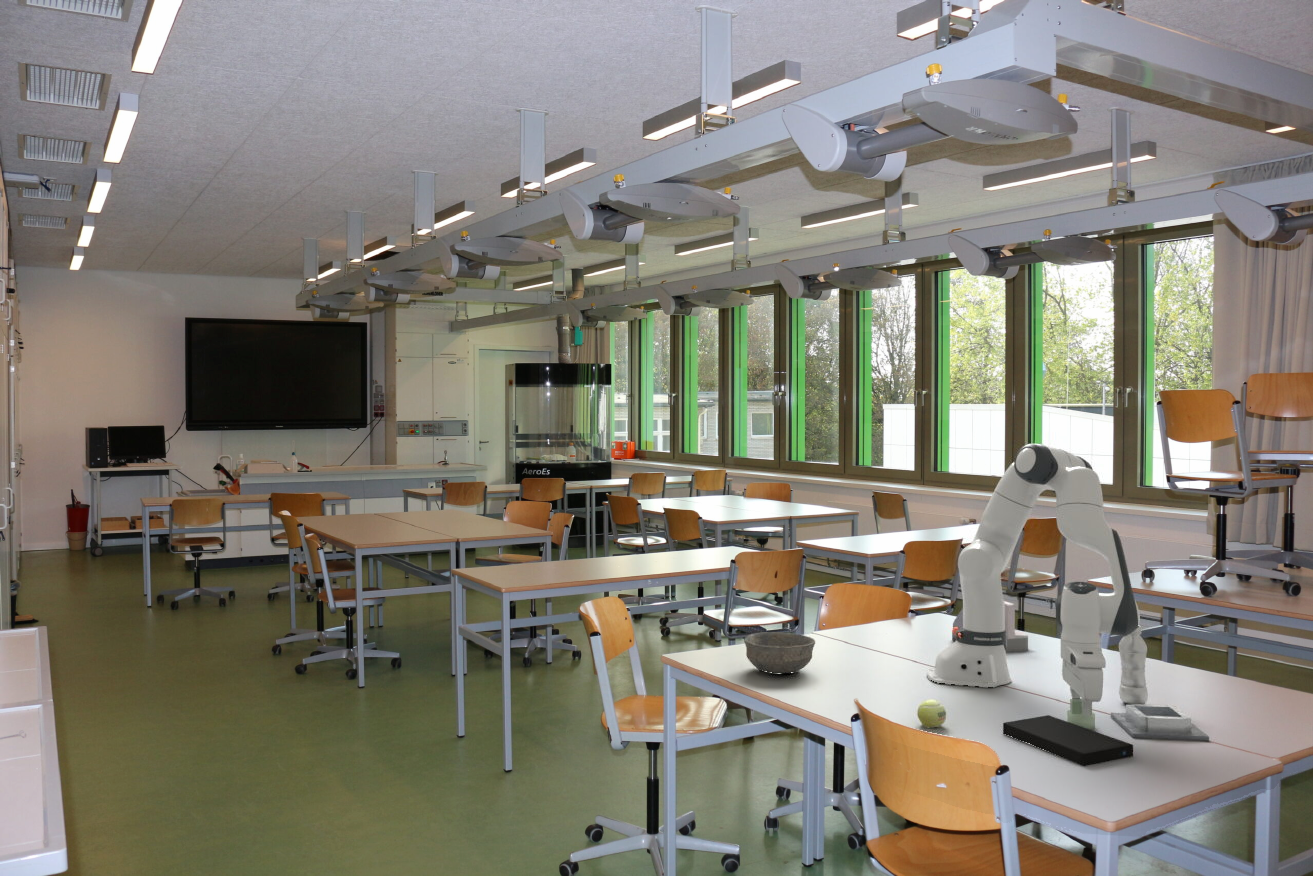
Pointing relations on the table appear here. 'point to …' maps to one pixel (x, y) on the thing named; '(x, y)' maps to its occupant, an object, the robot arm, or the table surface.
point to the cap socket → (1158, 723)
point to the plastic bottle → (1133, 668)
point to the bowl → (779, 651)
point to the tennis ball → (931, 713)
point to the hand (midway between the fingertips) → (1081, 710)
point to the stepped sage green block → (1080, 715)
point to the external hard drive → (1068, 740)
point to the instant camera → (1014, 638)
